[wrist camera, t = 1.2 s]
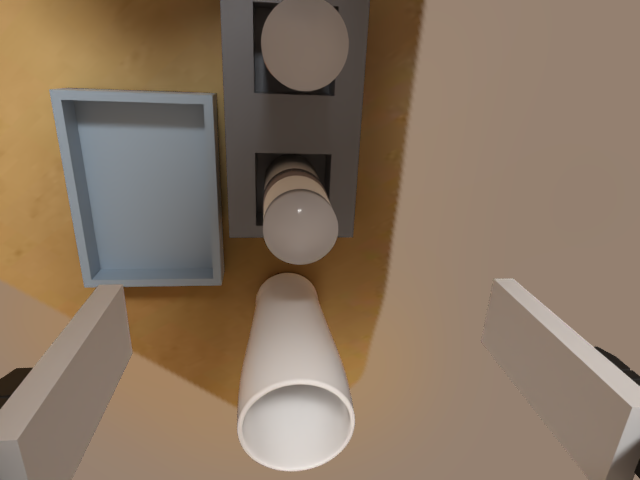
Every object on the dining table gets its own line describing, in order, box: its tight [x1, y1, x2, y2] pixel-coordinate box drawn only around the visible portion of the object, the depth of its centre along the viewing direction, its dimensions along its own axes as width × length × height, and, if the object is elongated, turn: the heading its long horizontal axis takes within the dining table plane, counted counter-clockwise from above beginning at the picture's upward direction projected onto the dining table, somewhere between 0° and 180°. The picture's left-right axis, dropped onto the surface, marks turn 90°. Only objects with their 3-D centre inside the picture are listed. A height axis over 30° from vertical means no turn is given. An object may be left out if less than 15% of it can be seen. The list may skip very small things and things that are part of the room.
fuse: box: [261, 0, 349, 91], centre depth 25 cm, size 4×4×11 cm
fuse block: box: [220, 0, 370, 238], centre depth 31 cm, size 16×9×4 cm, turn 178°
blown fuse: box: [263, 154, 338, 265], centre depth 28 cm, size 4×4×11 cm
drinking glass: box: [237, 273, 355, 471], centre depth 31 cm, size 7×7×15 cm
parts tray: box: [49, 88, 225, 287], centre depth 32 cm, size 14×10×2 cm
